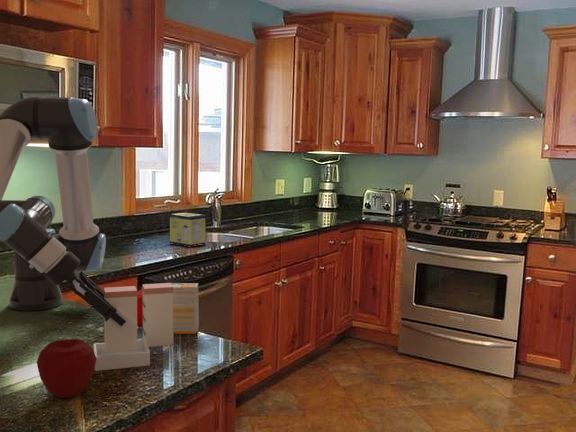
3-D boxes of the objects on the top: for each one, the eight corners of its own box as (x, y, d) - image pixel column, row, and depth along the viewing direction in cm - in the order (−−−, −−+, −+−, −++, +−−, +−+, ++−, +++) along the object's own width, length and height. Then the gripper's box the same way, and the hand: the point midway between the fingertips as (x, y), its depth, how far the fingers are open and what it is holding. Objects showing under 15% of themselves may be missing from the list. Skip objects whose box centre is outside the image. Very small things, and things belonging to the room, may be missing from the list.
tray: (93, 356, 138) (93, 343, 137) (145, 351, 142) (145, 339, 141) (94, 370, 129) (94, 357, 128) (149, 365, 133) (149, 352, 132)
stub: (104, 346, 135) (104, 287, 134) (135, 343, 138) (135, 285, 136) (105, 352, 131) (104, 292, 130) (137, 349, 134) (136, 290, 132)
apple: (25, 400, 113) (24, 343, 112) (64, 380, 123) (63, 327, 122) (70, 411, 109) (69, 351, 108) (107, 389, 119) (106, 334, 118)
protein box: (183, 241, 302) (184, 212, 300) (205, 245, 293) (206, 214, 291) (169, 244, 293) (169, 213, 292) (191, 247, 285) (191, 216, 283)
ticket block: (142, 341, 149) (142, 284, 147) (170, 338, 151) (170, 282, 149) (144, 347, 144) (144, 288, 143) (173, 344, 147) (173, 287, 145)
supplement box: (199, 329, 160) (199, 282, 158) (196, 334, 155) (197, 287, 153) (169, 328, 159) (169, 282, 158) (165, 334, 155) (165, 286, 153)
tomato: (130, 317, 169) (130, 282, 168) (173, 318, 169) (174, 284, 167) (118, 329, 158) (117, 292, 157) (164, 330, 158) (164, 294, 156)
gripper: (44, 266, 135) (118, 329, 143) (40, 283, 119) (124, 353, 126) (68, 243, 136) (140, 306, 144) (67, 256, 120) (149, 327, 127)
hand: (132, 328), depth 135 cm, fingers closed on stub, 4 cm apart
